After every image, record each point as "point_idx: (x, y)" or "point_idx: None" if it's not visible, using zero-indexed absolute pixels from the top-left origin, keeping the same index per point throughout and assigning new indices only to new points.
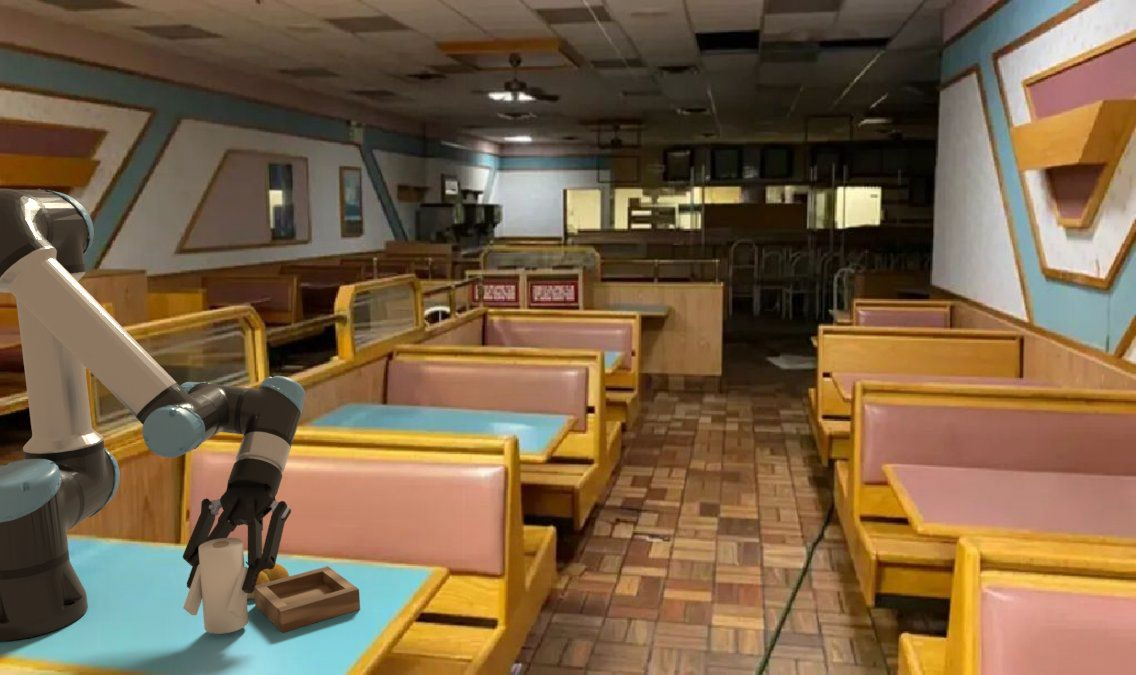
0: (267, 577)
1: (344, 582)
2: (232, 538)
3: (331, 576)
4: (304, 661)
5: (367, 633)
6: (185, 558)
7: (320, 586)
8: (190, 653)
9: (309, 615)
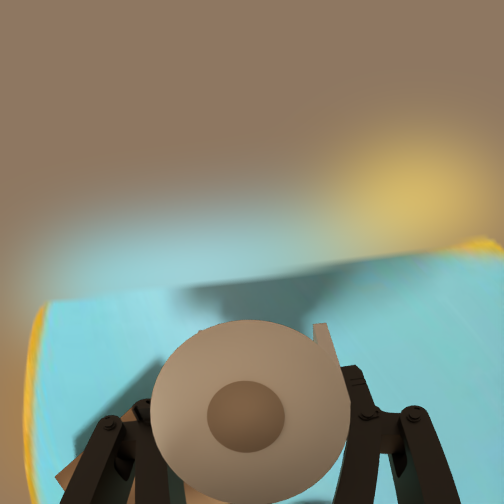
0: None
1: None
2: (236, 497)
3: None
4: (96, 307)
5: (46, 389)
6: (411, 408)
7: None
8: (286, 312)
9: None
